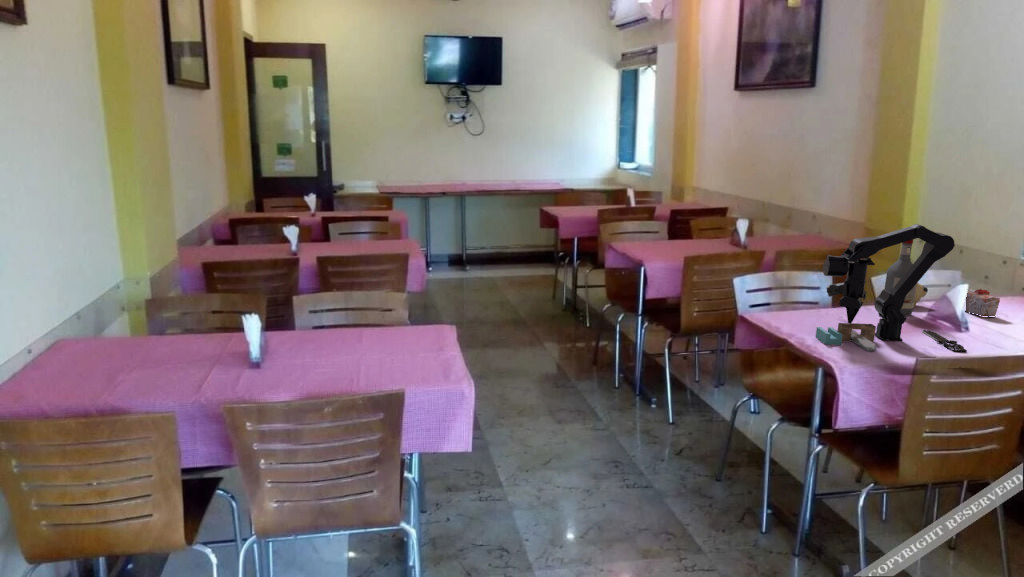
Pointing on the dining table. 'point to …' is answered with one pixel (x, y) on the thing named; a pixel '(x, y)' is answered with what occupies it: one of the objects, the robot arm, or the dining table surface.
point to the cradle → (829, 336)
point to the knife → (942, 341)
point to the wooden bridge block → (846, 328)
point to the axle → (863, 342)
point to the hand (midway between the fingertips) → (849, 322)
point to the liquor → (897, 273)
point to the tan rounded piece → (919, 293)
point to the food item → (981, 303)
